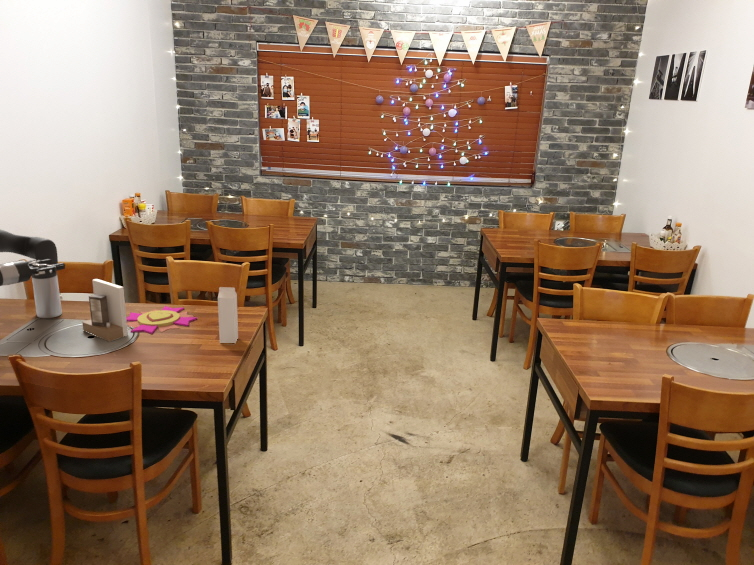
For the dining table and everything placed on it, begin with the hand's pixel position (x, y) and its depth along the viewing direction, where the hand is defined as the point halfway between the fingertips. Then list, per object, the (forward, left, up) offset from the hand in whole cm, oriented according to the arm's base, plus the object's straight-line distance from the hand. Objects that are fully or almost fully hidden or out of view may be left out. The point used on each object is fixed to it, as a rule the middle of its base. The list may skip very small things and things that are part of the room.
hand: (57, 263), depth 215 cm
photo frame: (+6, +10, -26) cm, 29 cm away
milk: (+49, +36, -30) cm, 68 cm away
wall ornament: (+10, +34, -31) cm, 47 cm away
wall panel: (+6, +12, -30) cm, 33 cm away
